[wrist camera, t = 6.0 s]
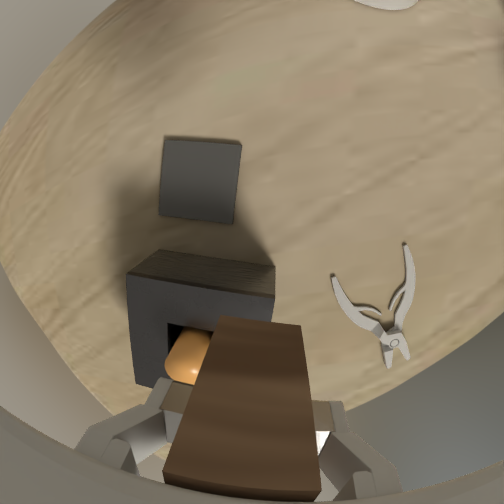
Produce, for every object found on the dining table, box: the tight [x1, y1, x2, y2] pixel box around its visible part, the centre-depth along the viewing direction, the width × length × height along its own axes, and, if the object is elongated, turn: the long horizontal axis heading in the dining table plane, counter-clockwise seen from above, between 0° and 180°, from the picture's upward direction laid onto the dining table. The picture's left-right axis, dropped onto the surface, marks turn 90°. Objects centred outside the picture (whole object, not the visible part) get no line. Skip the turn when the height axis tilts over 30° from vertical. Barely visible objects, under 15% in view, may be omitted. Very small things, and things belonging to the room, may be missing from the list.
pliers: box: [331, 244, 415, 368], centre depth 31 cm, size 10×2×15 cm
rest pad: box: [159, 140, 242, 224], centre depth 29 cm, size 8×8×1 cm
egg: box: [165, 326, 214, 385], centre depth 25 cm, size 4×4×6 cm
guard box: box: [126, 250, 275, 388], centre depth 29 cm, size 13×13×8 cm
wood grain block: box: [162, 315, 321, 502], centre depth 9 cm, size 4×4×8 cm
